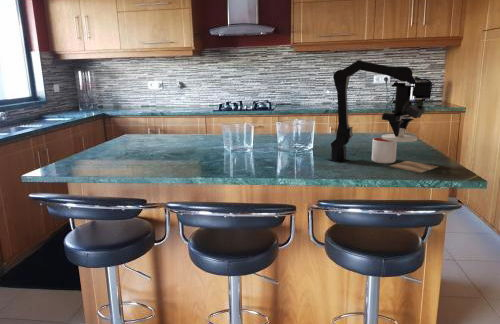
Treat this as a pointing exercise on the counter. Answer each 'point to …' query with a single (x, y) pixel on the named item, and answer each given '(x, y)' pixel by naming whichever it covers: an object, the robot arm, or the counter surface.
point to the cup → (383, 150)
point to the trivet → (413, 166)
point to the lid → (399, 137)
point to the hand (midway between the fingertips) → (399, 135)
